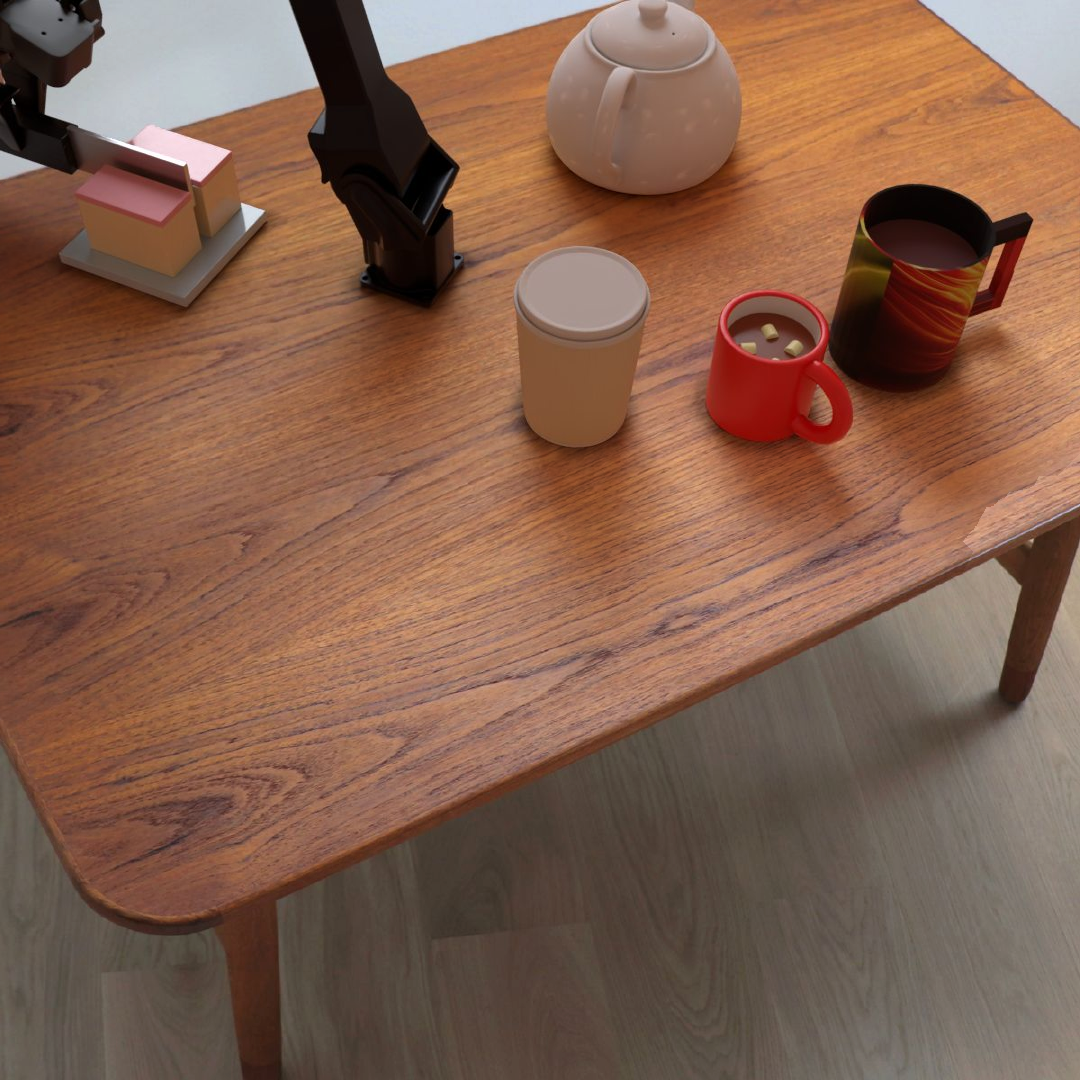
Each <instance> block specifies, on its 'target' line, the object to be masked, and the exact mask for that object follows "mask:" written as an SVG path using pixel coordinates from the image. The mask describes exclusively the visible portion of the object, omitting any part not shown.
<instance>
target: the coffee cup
mask: <svg viewBox="0 0 1080 1080" xmlns="http://www.w3.org/2000/svg"><path fill="white" fill-rule="evenodd" d="M651 302H652V301H651V292H650V289H649V286H648V284H647V282H646V281H645V278H644V276H643V274H642V273H641V272H640V270H639V269H638V268H637V266H635V264H633V263H632V262H631V261H630V260H628V259H627V258H625V257H624V256H621V255H620V254H618V253H616V252H613V251H610V250H608V249H605V248H600V247H595V246H587V245H586V246H584V245H573V246H565V247H559V248H556V249H552V250H549V251H547V252H545V253H543V254H541V255H539V256H538V257H536V258H534V259H532V261H531V262H530V263H529V264H527V265H526V267H525V268H524V270H523V272H521V274H520V275H519V277H518V279H517V280H516V283H515V286H514V290H513V306H514V311H515V314H516V315H515V316H516V331H517V334H516V335H517V348H518V360H519V372H520V373H519V374H520V385H521V399H522V400H521V401H522V407H523V415H524V418H525V420H526V422H527V425H528V426H529V428H530V429H531V430H532V431H533V432H534V433H535V434H537V435H538V436H539V437H540V438H542V439H544V440H545V441H547V442H549V443H552V444H554V445H557V446H562V447H565V448H586V447H592V446H595V445H599V444H601V443H604V442H605V441H607V440H609V439H611V438H612V437H613V436H615V434H617V432H618V431H619V430H620V429H621V427H622V426H623V424H624V422H625V419H626V416H627V411H628V408H629V405H630V404H629V403H630V399H631V395H632V390H633V385H634V380H635V375H636V370H637V365H638V360H639V356H640V352H641V346H642V341H643V337H644V330H645V325H646V320H647V319H648V316H649V312H650V310H651Z"/></svg>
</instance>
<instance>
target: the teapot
mask: <svg viewBox="0 0 1080 1080" xmlns="http://www.w3.org/2000/svg"><path fill="white" fill-rule="evenodd" d="M695 8H696V7H695V0H626V1H625V0H624V1H622V2H620V3H617V4H615V5H613V6H610V7H608V8H606V9H603V10H602V11H600V12H598V13H597V14H596V15H595V16H593V17H592V18H591V19H590V20H589V22H588V23H587V25H586V26H585V27H584V28H582V29H581V30H580V31H579V32H578V33H577V34H576V35H575V36H574V37H573V38H572V40H571V41H570V42H569V43H568V44H567V46H566V47H565V48H564V50H563V51H562V53H561V55H560V56H559V58H558V60H557V61H556V63H555V66H554V68H553V71H552V73H551V76H550V78H549V83H548V86H547V91H546V98H545V99H546V100H545V124H546V130H547V135H548V139H549V142H550V144H551V146H552V149H553V151H554V152H555V154H556V155H557V157H558V158H559V160H560V161H561V162H562V163H563V164H564V165H565V166H566V167H567V168H568V169H569V170H570V171H571V172H573V173H574V174H575V175H576V176H578V177H580V178H581V179H583V180H584V181H587V182H588V183H591V184H593V185H595V186H597V187H602V188H604V189H607V190H610V191H614V192H619V193H624V194H631V195H641V196H642V195H645V196H646V195H647V196H649V195H650V196H651V195H664V194H672V193H677V192H681V191H684V190H687V189H689V188H693V187H696V186H697V185H699V184H702V183H703V182H705V181H706V180H708V179H709V178H711V177H712V176H713V175H714V174H716V173H717V172H718V171H719V170H720V169H721V168H722V167H723V165H724V164H725V163H726V162H727V160H728V158H729V157H730V156H731V153H732V152H733V149H734V147H735V145H736V141H737V139H738V135H739V132H740V128H741V122H742V114H743V113H742V112H743V111H742V110H743V99H742V97H743V95H742V90H741V84H740V79H739V77H738V73H737V70H736V67H735V65H734V63H733V60H732V59H731V57H730V55H729V53H728V52H727V49H726V48H725V47H724V45H723V44H722V43H721V41H720V40H719V38H717V36H716V34H715V31H714V30H713V28H712V26H711V25H709V23H708V22H707V21H706V20H704V18H702V17H701V16H700V15H699V14H697V13H696V11H695Z"/></svg>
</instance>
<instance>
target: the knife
mask: <svg viewBox="0 0 1080 1080" xmlns="http://www.w3.org/2000/svg"><path fill="white" fill-rule="evenodd" d="M12 104H13V107H14V111H15V114H16V117H17V121H18V124H19V128H20V131H21V134H22V140H23V146H24V149H23V150H22V151H21V152H19V151H16V150H13V149H11V148H10V147H9V146H8V145H7V144H6V143H5V142H4V141H3V140H2V139H1V138H0V152H3V153H6V154H9V155H12V156H14V157H17V158H20V159H22V160H27V161H30V162H32V163H36V164H38V165H41V166H43V167H47V168H50V169H53V170H56V171H59V172H62V173H64V174H68V175H71V176H73V175H74V174H75V173H76V172H77V171H78V170H79V171H82V172H85V173H87V174H91V175H92V176H93V175H94V174H95V173H96V172H97V171H98V170H99V169H100V168H101V167H103V166H104V165H105V164H106V165H109V166H112V167H115V168H118V169H121V170H124V171H127V172H130V173H133V174H136V175H139V176H142V177H145V178H148V179H151V180H154V181H157V182H160V183H163V184H166V185H169V186H171V187H174V188H177V189H180V190H183V191H186V192H189V193H190V195H191V200H192V204H193V207H194V206H195V205H196V202H195V198H194V193H193V189H192V184H191V179H190V175H189V170H188V166H187V163H185V162H182V161H179V160H176V159H173V158H170V157H166V156H163V155H160V154H157V153H154V152H151V151H148V150H145V149H142V148H139V147H136V146H133V145H130V144H127V143H128V142H124V141H122V140H121V141H120V140H118V139H114V138H113V137H112V138H111V137H108V136H106V135H102V134H100V133H97V132H94V131H91V130H88V129H84V128H81V127H79V125H78V124H75V123H72V122H69V121H66V120H63V119H60V118H57V117H54V116H52V115H48V114H46V113H45V114H42V113H39V112H36V111H33V110H30V109H27V108H24V107H21V106H18V105H16V104H15V103H12Z"/></svg>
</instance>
